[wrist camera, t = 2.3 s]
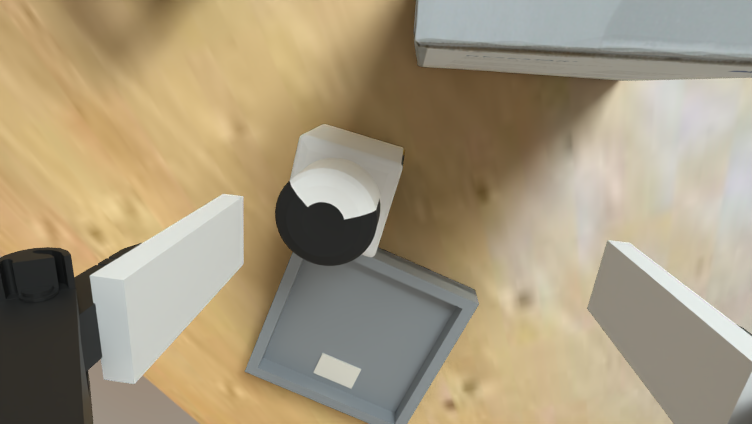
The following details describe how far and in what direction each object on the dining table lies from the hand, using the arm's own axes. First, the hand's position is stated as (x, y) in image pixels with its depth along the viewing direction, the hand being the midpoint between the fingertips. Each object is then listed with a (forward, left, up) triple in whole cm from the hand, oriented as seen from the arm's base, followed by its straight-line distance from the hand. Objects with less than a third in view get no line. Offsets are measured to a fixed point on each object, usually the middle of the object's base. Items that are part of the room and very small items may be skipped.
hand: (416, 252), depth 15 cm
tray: (+2, -17, -20) cm, 26 cm away
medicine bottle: (-4, -4, -20) cm, 21 cm away
